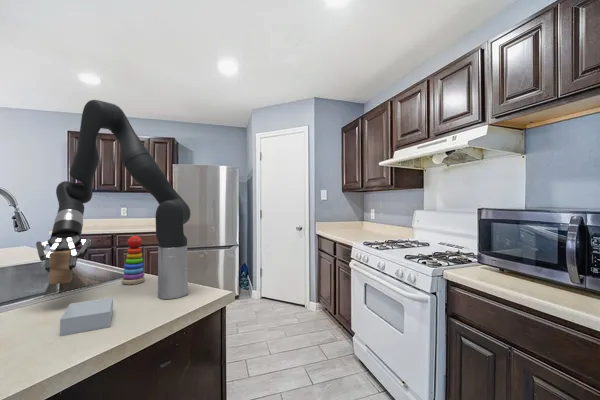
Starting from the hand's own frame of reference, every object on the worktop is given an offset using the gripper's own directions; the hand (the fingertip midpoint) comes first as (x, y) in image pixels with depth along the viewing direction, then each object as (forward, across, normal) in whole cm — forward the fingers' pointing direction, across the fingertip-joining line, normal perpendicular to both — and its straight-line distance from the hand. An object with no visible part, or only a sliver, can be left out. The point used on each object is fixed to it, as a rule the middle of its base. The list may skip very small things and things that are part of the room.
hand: (60, 269), depth 83 cm
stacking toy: (-7, +18, +25) cm, 32 cm away
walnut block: (+2, 0, +4) cm, 5 cm away
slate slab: (+19, +9, -1) cm, 21 cm away
